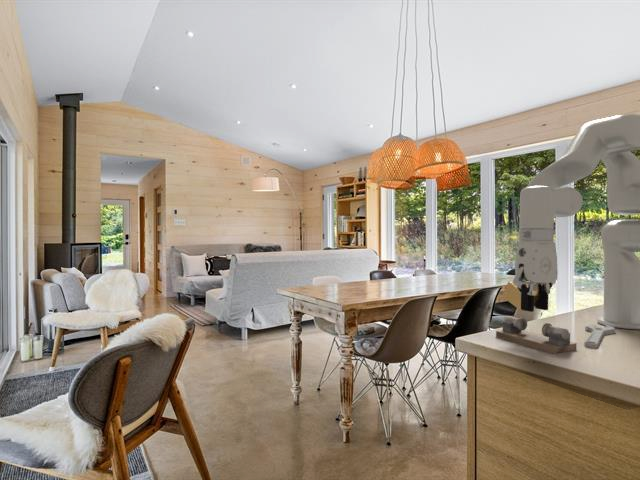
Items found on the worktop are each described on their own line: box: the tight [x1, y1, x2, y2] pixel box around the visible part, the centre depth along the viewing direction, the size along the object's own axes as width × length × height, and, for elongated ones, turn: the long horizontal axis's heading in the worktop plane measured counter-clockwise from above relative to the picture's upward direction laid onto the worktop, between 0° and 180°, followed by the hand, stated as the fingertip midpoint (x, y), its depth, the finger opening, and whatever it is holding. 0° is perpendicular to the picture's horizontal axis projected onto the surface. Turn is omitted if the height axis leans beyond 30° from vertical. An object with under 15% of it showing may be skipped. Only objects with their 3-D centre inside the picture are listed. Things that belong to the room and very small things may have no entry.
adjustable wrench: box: [583, 324, 616, 349], centre depth 107 cm, size 25×6×2 cm, turn 135°
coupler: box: [501, 280, 540, 312], centre depth 104 cm, size 4×4×7 cm
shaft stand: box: [495, 315, 577, 355], centre depth 100 cm, size 8×16×6 cm, turn 25°
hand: (534, 309), depth 100 cm, fingers closed on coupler, 4 cm apart
